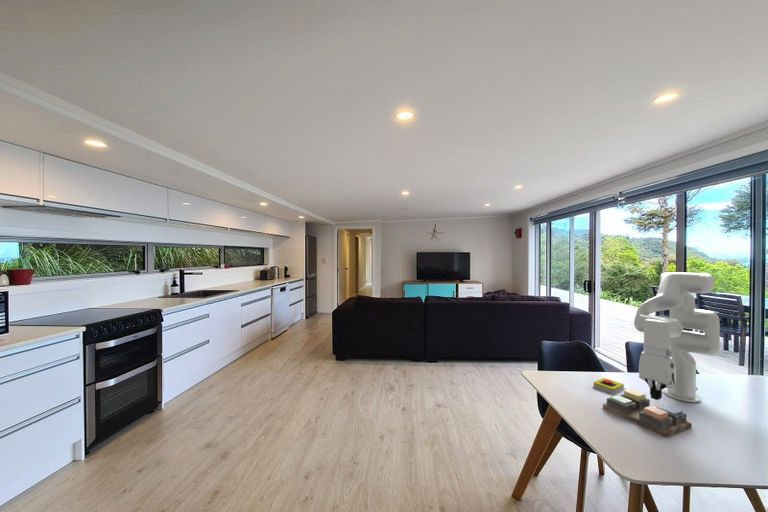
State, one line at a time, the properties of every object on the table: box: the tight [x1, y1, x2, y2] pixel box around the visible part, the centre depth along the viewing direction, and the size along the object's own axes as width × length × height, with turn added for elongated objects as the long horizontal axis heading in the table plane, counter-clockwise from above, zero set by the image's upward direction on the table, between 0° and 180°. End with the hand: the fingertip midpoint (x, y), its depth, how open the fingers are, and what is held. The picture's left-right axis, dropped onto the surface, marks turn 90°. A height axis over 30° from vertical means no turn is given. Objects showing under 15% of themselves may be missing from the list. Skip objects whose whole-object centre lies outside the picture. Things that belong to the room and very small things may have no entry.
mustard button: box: [623, 388, 646, 401], centre depth 128 cm, size 5×5×3 cm
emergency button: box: [591, 377, 627, 396], centre depth 148 cm, size 9×4×15 cm
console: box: [602, 393, 693, 438], centre depth 121 cm, size 17×22×5 cm
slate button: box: [657, 404, 683, 416], centre depth 117 cm, size 5×5×3 cm
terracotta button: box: [644, 405, 668, 421], centre depth 114 cm, size 5×5×3 cm
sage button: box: [611, 394, 632, 405], centre depth 125 cm, size 5×5×3 cm
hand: (655, 398), depth 114 cm, fingers closed
